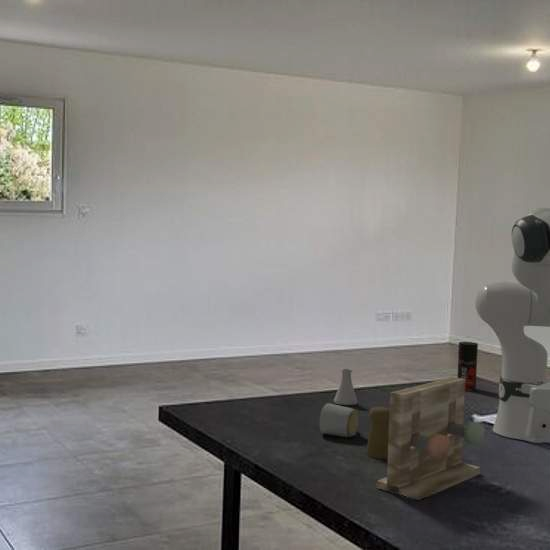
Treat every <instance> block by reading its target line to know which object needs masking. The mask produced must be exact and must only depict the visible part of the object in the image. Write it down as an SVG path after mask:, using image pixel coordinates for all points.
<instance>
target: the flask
mask: <svg viewBox="0 0 550 550" xmlns="http://www.w3.org/2000/svg"><path fill="white" fill-rule="evenodd" d="M340 371H341V380H340V383H339V386H338V389H337V391H336V394H335V396H334V399H333V403H334V404H335V405H340V406H342V405H343V406H355V405H357V404H359V403H358V402H359V401H358V398H357V395H356V393H355V389H354V386H353V382H352V380H353V379H352V373H353V369H351V368H341V370H340Z"/></svg>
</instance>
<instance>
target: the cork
mask: <svg viewBox="0 0 550 550" xmlns="http://www.w3.org/2000/svg"><path fill="white" fill-rule="evenodd" d="M389 413H390V408H389V407H384V406H373V407H371V409H370V410H369V413H368V417H369V420H370V427H369V433H368V439H367V445H366V450H365V451H366V452H365V455H366V456H367V457H369V458H370V457H371V458H373V459H388V439H389Z"/></svg>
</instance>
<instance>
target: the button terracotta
mask: <svg viewBox="0 0 550 550" xmlns="http://www.w3.org/2000/svg"><path fill="white" fill-rule="evenodd" d="M411 446H413V447H417V448H421V449H425V450H427V451H428V454H429V456H431V457H435V458H439V459H445V458H446V457H447V456H448V454H449V451H450V439H449V437H448V436H444V435H440V434H436V433H435V434H433V435H431V437H426V436H421V435H417V434H415V435H412V436H411Z"/></svg>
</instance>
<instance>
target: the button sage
mask: <svg viewBox="0 0 550 550" xmlns="http://www.w3.org/2000/svg"><path fill="white" fill-rule="evenodd" d="M448 434H452V435H456V436H461V437H463V440H464V442H465V443H466V444H470V445H474V446H479V447H480V446H481V445H482V444H483V442H484V440H485V437H486V436H485V435H486V429H485V426H484V424H483V423H480V422H476V421H468V422H467V423H466V425H465V424H463V425H461V424H457V423H449V424H448Z"/></svg>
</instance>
